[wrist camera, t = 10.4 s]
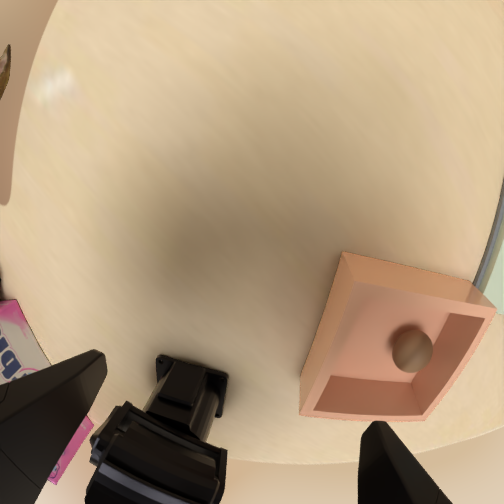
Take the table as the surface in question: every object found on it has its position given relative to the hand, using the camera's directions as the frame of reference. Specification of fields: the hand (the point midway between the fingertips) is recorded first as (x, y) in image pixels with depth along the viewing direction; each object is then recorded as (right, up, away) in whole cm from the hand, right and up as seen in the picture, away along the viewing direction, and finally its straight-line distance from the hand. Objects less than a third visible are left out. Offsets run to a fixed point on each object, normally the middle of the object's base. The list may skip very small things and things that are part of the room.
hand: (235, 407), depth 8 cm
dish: (+11, -1, +12) cm, 16 cm away
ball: (+12, -3, +9) cm, 16 cm away
